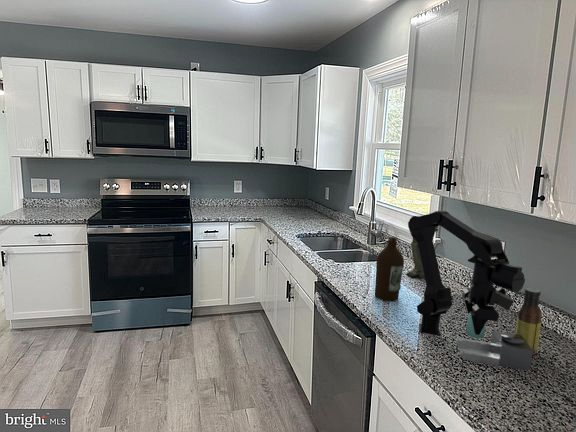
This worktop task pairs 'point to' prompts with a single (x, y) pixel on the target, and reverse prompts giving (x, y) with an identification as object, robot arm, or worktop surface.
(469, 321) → the teal bottle with cap
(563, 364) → the worktop surface
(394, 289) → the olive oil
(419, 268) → the mechanical leg
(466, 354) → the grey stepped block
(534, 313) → the sauce bottle
